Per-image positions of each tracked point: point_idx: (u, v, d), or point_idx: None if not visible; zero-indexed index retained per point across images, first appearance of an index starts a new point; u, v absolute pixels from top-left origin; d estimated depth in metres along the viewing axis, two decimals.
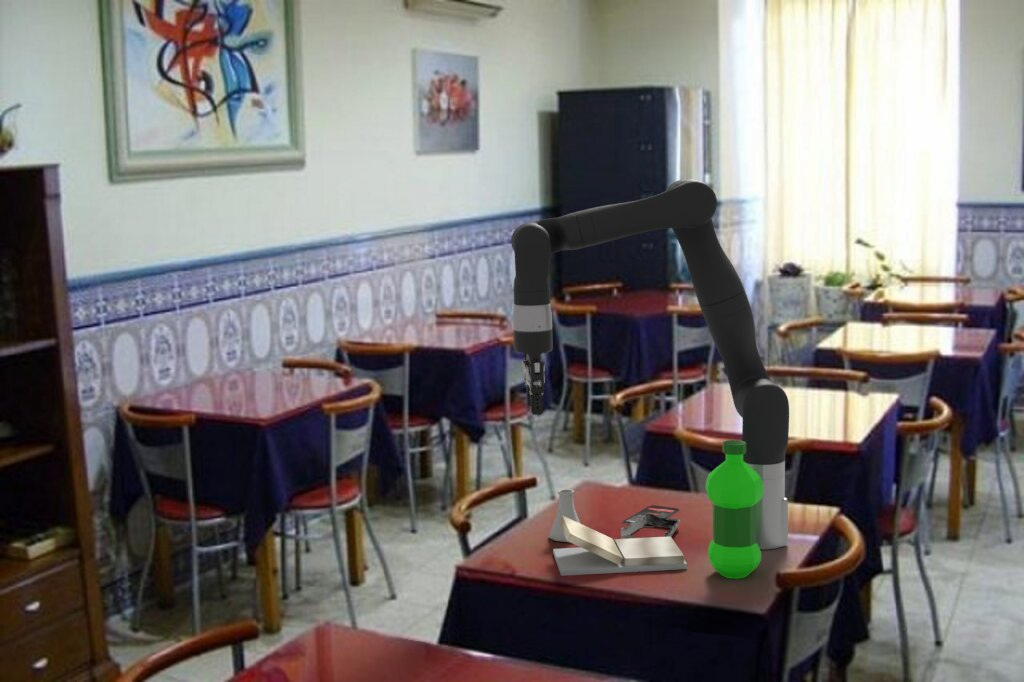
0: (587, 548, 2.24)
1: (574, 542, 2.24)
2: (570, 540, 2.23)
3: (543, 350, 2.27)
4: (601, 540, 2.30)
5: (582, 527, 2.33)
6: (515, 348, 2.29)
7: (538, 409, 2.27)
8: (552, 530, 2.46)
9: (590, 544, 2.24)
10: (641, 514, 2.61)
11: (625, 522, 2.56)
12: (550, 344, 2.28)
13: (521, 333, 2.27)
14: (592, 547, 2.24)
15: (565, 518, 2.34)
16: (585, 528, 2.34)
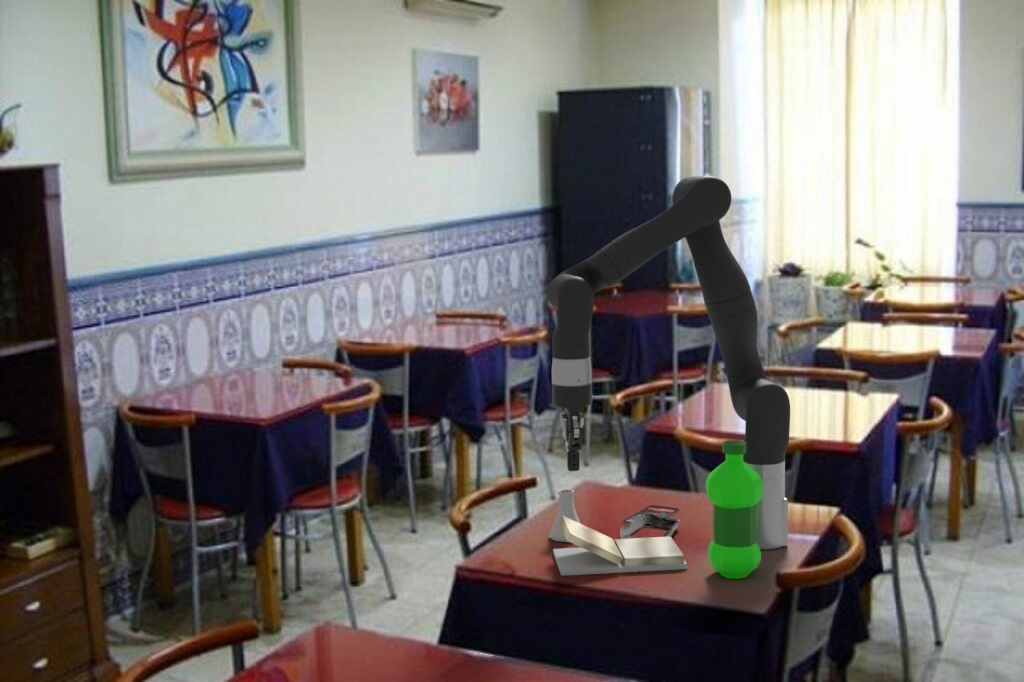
0: (587, 548, 2.24)
1: (574, 542, 2.24)
2: (570, 540, 2.23)
3: (582, 405, 2.23)
4: (601, 540, 2.30)
5: (582, 527, 2.33)
6: (553, 402, 2.25)
7: (575, 466, 2.26)
8: (552, 530, 2.46)
9: (590, 544, 2.24)
10: (641, 514, 2.61)
11: (625, 522, 2.56)
12: (589, 398, 2.24)
13: (560, 387, 2.23)
14: (592, 547, 2.24)
15: (565, 518, 2.34)
16: (585, 528, 2.34)
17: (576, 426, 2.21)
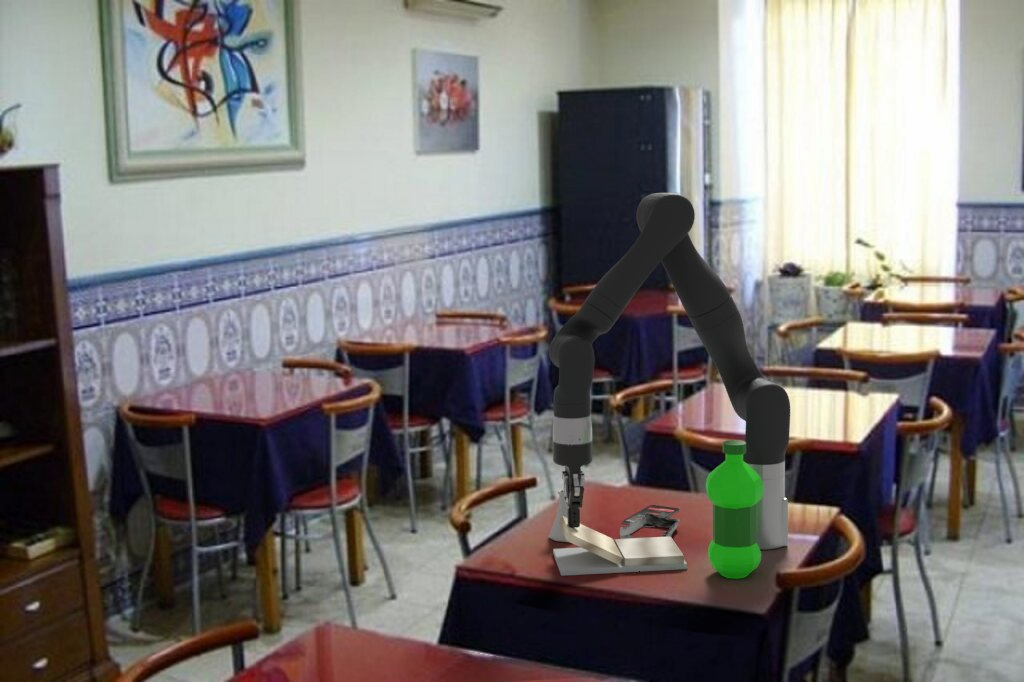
0: (587, 548, 2.24)
1: (574, 542, 2.24)
2: (570, 540, 2.24)
3: (583, 463, 2.24)
4: (601, 540, 2.30)
5: (582, 527, 2.33)
6: (554, 460, 2.26)
7: (575, 523, 2.28)
8: (552, 530, 2.46)
9: (590, 544, 2.24)
10: (641, 514, 2.61)
11: (625, 522, 2.56)
12: (590, 456, 2.26)
13: (561, 445, 2.24)
14: (592, 547, 2.24)
15: (565, 518, 2.34)
16: (585, 528, 2.34)
17: (577, 484, 2.23)
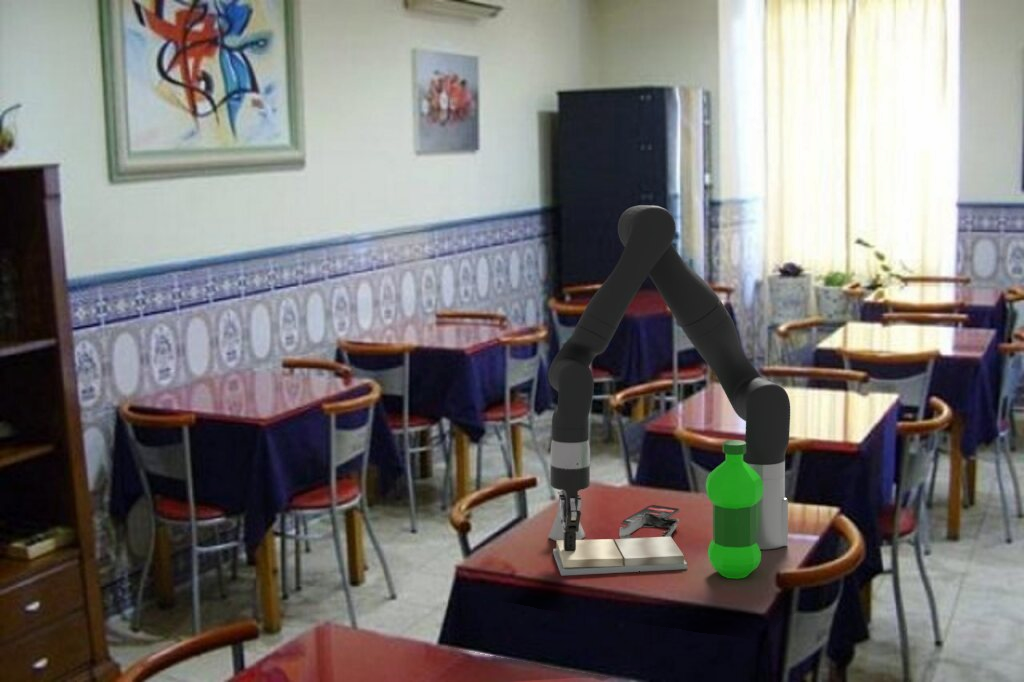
0: (586, 565, 2.24)
1: (571, 565, 2.24)
2: (567, 565, 2.24)
3: (580, 487, 2.25)
4: (599, 548, 2.31)
5: (578, 543, 2.34)
6: (552, 484, 2.27)
7: (571, 546, 2.28)
8: (552, 530, 2.46)
9: (587, 560, 2.24)
10: (641, 514, 2.61)
11: (625, 522, 2.56)
12: (587, 480, 2.26)
13: (559, 470, 2.25)
14: (590, 562, 2.24)
15: (559, 542, 2.34)
16: (581, 543, 2.34)
17: (573, 509, 2.23)
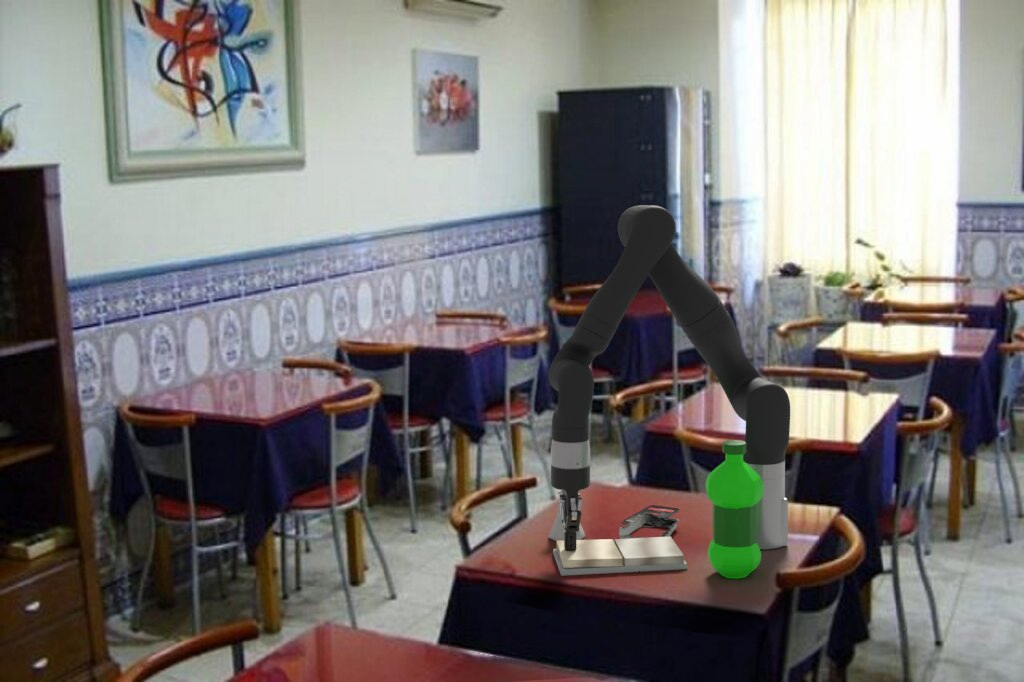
0: (586, 565, 2.24)
1: (571, 565, 2.24)
2: (567, 565, 2.24)
3: (581, 487, 2.25)
4: (599, 548, 2.31)
5: (578, 543, 2.34)
6: (552, 484, 2.27)
7: (572, 546, 2.28)
8: (552, 530, 2.46)
9: (587, 560, 2.24)
10: (641, 514, 2.61)
11: (625, 522, 2.56)
12: (588, 480, 2.26)
13: (559, 469, 2.25)
14: (590, 562, 2.24)
15: (559, 542, 2.34)
16: (581, 543, 2.34)
17: (574, 509, 2.23)
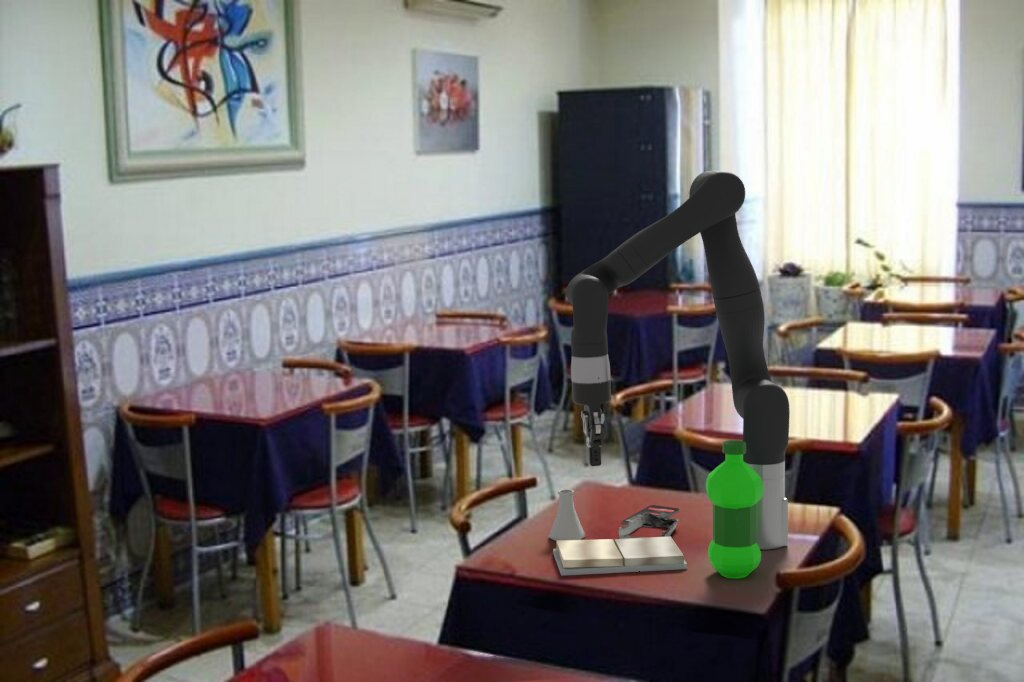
0: (586, 565, 2.24)
1: (571, 565, 2.24)
2: (567, 565, 2.24)
3: (603, 401, 2.28)
4: (599, 548, 2.31)
5: (578, 543, 2.34)
6: (574, 400, 2.30)
7: (597, 461, 2.32)
8: (552, 530, 2.46)
9: (587, 560, 2.24)
10: (641, 514, 2.61)
11: (625, 522, 2.56)
12: (609, 394, 2.30)
13: (580, 385, 2.28)
14: (590, 562, 2.24)
15: (559, 542, 2.34)
16: (581, 543, 2.34)
17: (597, 422, 2.27)
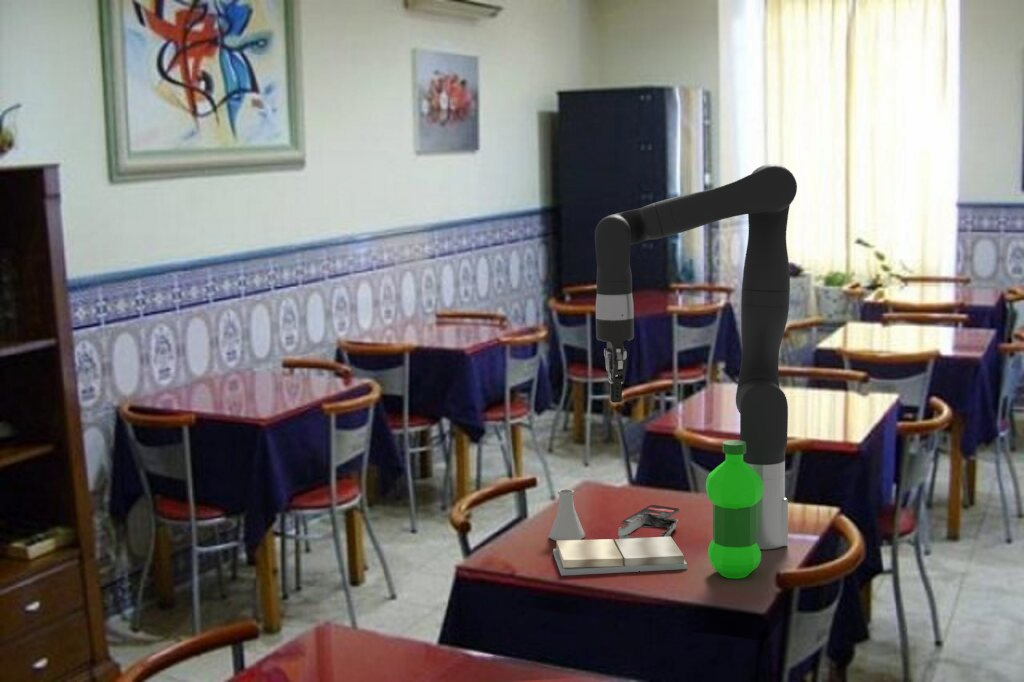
0: (586, 565, 2.24)
1: (571, 565, 2.24)
2: (567, 565, 2.24)
3: (626, 338, 2.34)
4: (599, 548, 2.31)
5: (578, 543, 2.34)
6: (598, 336, 2.36)
7: (618, 397, 2.38)
8: (552, 530, 2.46)
9: (587, 560, 2.24)
10: (641, 514, 2.61)
11: (625, 522, 2.56)
12: (632, 332, 2.36)
13: (604, 322, 2.34)
14: (590, 562, 2.24)
15: (559, 542, 2.34)
16: (581, 543, 2.34)
17: (620, 358, 2.33)
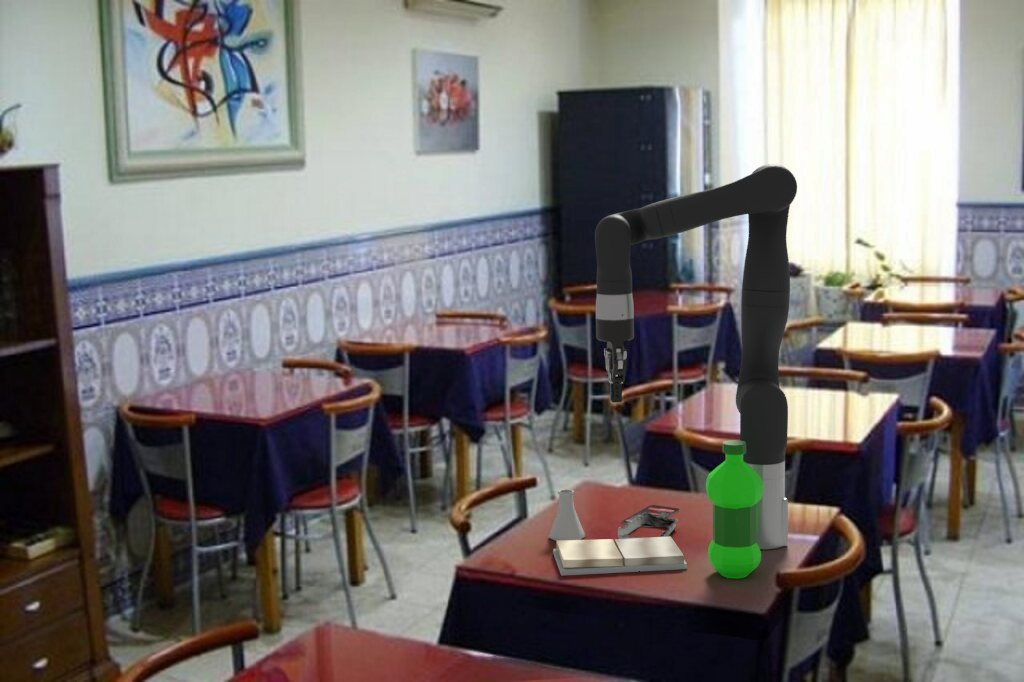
0: (586, 565, 2.24)
1: (571, 565, 2.24)
2: (567, 565, 2.24)
3: (626, 338, 2.34)
4: (599, 548, 2.31)
5: (578, 543, 2.34)
6: (598, 336, 2.36)
7: (618, 397, 2.38)
8: (552, 530, 2.46)
9: (587, 560, 2.24)
10: (641, 514, 2.61)
11: (625, 522, 2.56)
12: (632, 332, 2.36)
13: (604, 321, 2.34)
14: (590, 562, 2.24)
15: (559, 542, 2.34)
16: (581, 543, 2.34)
17: (620, 358, 2.33)
